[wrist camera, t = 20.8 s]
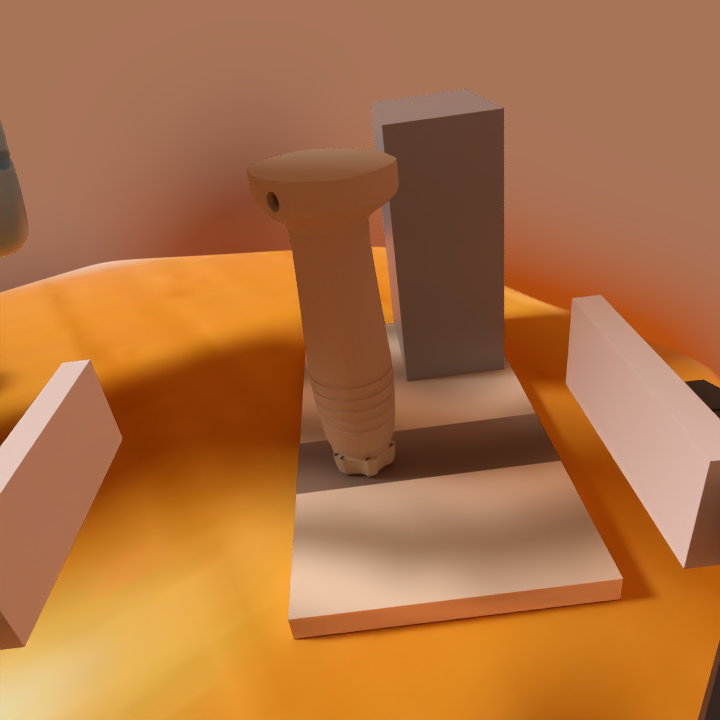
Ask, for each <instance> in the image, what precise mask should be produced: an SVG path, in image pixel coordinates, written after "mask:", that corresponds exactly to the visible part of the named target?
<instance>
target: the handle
mask: <svg viewBox="0 0 720 720" xmlns="http://www.w3.org/2000/svg"><path fill="white" fill-rule="evenodd" d="M246 170H247V175H248V179H249V184H250V188H251V191H252V195H253V197H254V199H255V201H256V203H257V205H258V206H259V207H260V208H261V209H262V211H263V212H264V213H265V214H267V215H268V216H269V217H271V218H272V219H275V220H277V221H279V222H281V223H284V224H285V225H286V226H287V228H288V233H289V237H290V242H291V247H292V252H293V259H294V266H295V273H296V281H297V288H298V295H299V302H300V310H301V318H302V326H303V333H304V341H305V349H306V357H307V365H308V370H309V376H310V381H311V386H312V390H313V394H314V399H315V402H316V406H317V410H318V413H319V417H320V420H321V423H322V426H323V429H324V432H325V435H326V437H327V440H328V442H329V443H330V444H331V446H332V449H333V451H334V454H333V456H334V459H335V462H336V465H337V467H338V469H339V470H340V471H341V472H342V473H345V474H347V475H350V474H362V475H366V476H368V477H371V476H374V475H377V474H378V472H379V470H381V469H382V468H383V467H385V466H387V465H390V464H391V463H392V462H393V460H394V457H395V441H393V440H392V439H391V437H392V436H393V433H394V424H395V389H394V377H393V368H392V361H391V353H390V348H389V343H388V337H387V332H386V327H385V321H384V316H383V311H382V305H381V300H380V295H379V289H378V283H377V277H376V272H375V266H374V260H373V254H372V248H371V243H370V233H369V221H368V218H369V216H370V215H371V214H372V213H373V212H374V211H375V210H377V209H378V208H380V207H382V206H383V205H385V204H386V203H387V202H388V201H389V200H390V199H391V198H392V197H393V196H394V194H395V193H396V192H397V190H398V186H399V181H398V168H397V158H395V157H393V156H391V155H389V154H387V153H385V152H381V151H376V150H367V149H354V148H332V149H315V150H304V151H298V152H293V153H288V154H284V155H280V156H276V157H273V158H269V159H266V160H263V161H260V162H258V163H255V164H253V165H251V166H250V167H248V168H247V169H246Z"/></svg>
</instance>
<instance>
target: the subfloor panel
mask: <svg viewBox="0 0 720 720" xmlns="http://www.w3.org/2000/svg"><path fill="white" fill-rule="evenodd" d="M385 327H386V332H387V337H388V343H389V348H390V353H391V361H392V368H393V377H394V389H395V424H394V433H393V436H392V437H391V439H392V440H393V441H395V457H394V460H393V462H392V463H391V464H390V465H387V466H385V467H383V468H382V469H381V470H379V472H378V474H377V475H374V476H371V477H368V476H366V475H362V474H350V475H347V474H345V473H342V472H341V471H340V470H339V469H338V467H337V465H336V462H335V459H334V456H333V454H334V451H333V449H332V446H331V444H330V443H329V442H328V440H327V437H326V435H325V432H324V429H323V426H322V423H321V420H320V417H319V413H318V410H317V406H316V402H315V399H314V394H313V390H312V386H311V381H310V376H309V370H308V365H307V357H306V355H305V371H304V386H303V401H302V417H301V432H300V447H299V463H298V478H297V493H296V509H295V524H294V539H293V555H292V570H291V585H290V601H289V616H288V621H289V624H290V627H291V631H292V634H293V638H294V639H297V638H305V637H313V636H321V635H330V634H338V633H346V632H354V631H362V630H371V629H379V628H387V627H395V626H404V625H412V624H420V623H428V622H436V621H445V620H453V619H461V618H469V617H477V616H486V615H494V614H502V613H510V612H518V611H527V610H535V609H543V608H551V607H559V606H568V605H576V604H584V603H592V602H600V601H609V600H617V599H620V597H621V590H622V583H623V577H622V575H621V574H620V572H619V570H618V568H617V566H616V564H615V562H614V560H613V558H612V557H611V555H610V553H609V551H608V549H607V547H606V545H605V543H604V541H603V539H602V538H601V536H600V534H599V532H598V530H597V528H596V526H595V524H594V522H593V521H592V519H591V517H590V515H589V513H588V511H587V509H586V507H585V505H584V503H583V502H582V500H581V498H580V496H579V494H578V492H577V490H576V488H575V486H574V485H573V483H572V481H571V479H570V477H569V475H568V473H567V471H566V469H565V467H564V466H563V464H562V462H561V460H560V458H559V456H558V454H557V452H556V450H555V449H554V447H553V445H552V443H551V441H550V439H549V437H548V435H547V433H546V431H545V430H544V428H543V426H542V424H541V422H540V420H539V418H538V416H537V414H536V413H535V411H534V409H533V407H532V405H531V403H530V401H529V399H528V397H527V395H526V394H525V392H524V390H523V388H522V386H521V384H520V382H519V380H518V378H517V377H516V375H515V373H514V371H513V369H512V367H511V365H510V363H509V361H508V359H507V358H506V356H505V354H504V369H502V370H494V371H486V372H478V373H471V374H463V375H455V376H447V377H439V378H432V379H424V380H416V381H408V382H407V378H406V374H405V369H404V364H403V360H402V355H401V350H400V346H399V341H398V336H397V332H396V327H395V323H388V324H385Z"/></svg>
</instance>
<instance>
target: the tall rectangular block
mask: <svg viewBox="0 0 720 720" xmlns="http://www.w3.org/2000/svg"><path fill="white" fill-rule="evenodd" d="M371 110H372V117H373V118H372V119H373V129H374V138H375V148H376V151H381V152H385V153H387V154H389V155H391V156H393V157H395V158H397V168H398V181H399V186H398V190H397V192H396V193H395V194H394V196H393V197H392V198H391V199H390V200H389V201H388V202H387V203H386V204H385V205H383V206H382V213H383V223H384V232H385V242H386V251H387V261H388V270H389V280H390V289H391V298H392V308H393V317H394V322H395V327H396V332H397V336H398V341H399V346H400V350H401V355H402V360H403V364H404V369H405V374H406V378H407V382H408V381H416V380H424V379H432V378H439V377H447V376H455V375H463V374H471V373H478V372H486V371H494V370H502V369H504V108H502V107H501V106H499V105H497V104H495V103H493V102H491V101H489V100H487V99H485V98H483V97H481V96H479V95H477V94H475V93H473V92H471V91H469V90H468V89H464V90H457V91H450V92H442V93H436V94H429V95H421V96H414V97H407V98H400V99H393V100H386V101H379V102H371Z"/></svg>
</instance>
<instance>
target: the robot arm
mask: <svg viewBox="0 0 720 720" xmlns="http://www.w3.org/2000/svg"><path fill="white" fill-rule="evenodd" d="M9 157H10V152H9V149H8V146H7V142H6V137H5V134H4V130H3V127H2V124H1V121H0V257H3V256H7V255H10V254H12V253H14V252H16V251H17V250H19V249H20V248H21V247H22V246H23V244H24V243H25V241H26V239H27V236H28V221H27V215H26V210H25V205H24V201H23V197H22V193H21V189H20V185H19V182H18V178H17V175H16V171H15V168H14V166H13V163H12V161H11V159H10V158H9ZM566 385H567V386H568V388H569V390H570V391H571V393H572V394H573V396H574V397H575V399H576V401H577V402H578V404H579V405H580V407H581V408H582V410H583V412H584V413H585V415H586V416H587V418H588V419H589V421H590V423H591V424H592V426H593V427H594V429H595V430H596V432H597V434H598V435H599V437H600V438H601V440H602V441H603V443H604V444H605V446H606V448H607V449H608V451H609V452H610V454H611V455H612V457H613V459H614V460H615V462H616V463H617V465H618V466H619V468H620V470H621V471H622V473H623V474H624V476H625V477H626V479H627V481H628V482H629V484H630V485H631V487H632V488H633V490H634V492H635V493H636V495H637V496H638V498H639V499H640V501H641V503H642V504H643V506H644V507H645V509H646V510H647V512H648V513H649V515H650V517H651V518H652V520H653V521H654V523H655V524H656V526H657V528H658V529H659V531H660V532H661V534H662V535H663V537H664V539H665V540H666V542H667V543H668V545H669V546H670V548H671V550H672V551H673V553H674V554H675V556H676V557H677V559H678V561H679V562H680V564H681V565H682V567H683V568H684V569H686V568H694V567H703V566H711V565H720V388H719V387H717V386H715V385H713V384H711V383H709V382H707V381H705V380H696V381H688V382H684V381H683V380H682V379H681V378H680V377H679V376H678V375H677V374H676V373H675V372H674V371H673V370H672V369H671V368H670V367H669V365H668V364H667V363H666V362H665V361H664V360H663V359H662V358H661V357H660V356H659V355H658V354H657V353H656V352H655V351H654V350H653V349H652V348H651V347H650V346H649V345H648V344H647V343H646V341H645V340H644V339H643V338H642V337H641V336H640V335H639V334H638V333H637V332H636V331H635V330H634V329H633V328H632V327H631V326H630V325H629V324H628V323H627V322H626V321H625V320H624V318H622V316H621V315H620V314H619V313H618V312H617V311H616V310H615V309H614V308H613V307H612V306H611V305H610V304H609V303H608V302H607V301H606V300H605V299H604V298H603V297H602V296H601V295H595V296H587V297H579V298H572V307H571V321H570V334H569V347H568V360H567V374H566ZM122 439H123V438H122V436H121V433H120V431H119V428H118V426H117V423H116V421H115V419H114V416H113V414H112V411H111V409H110V406H109V404H108V402H107V399H106V397H105V394H104V392H103V389H102V387H101V385H100V382H99V380H98V377H97V375H96V372H95V370H94V368H93V365H92V363H91V360H82V361H74V362H66V363H62V364H61V366H60V367H59V368H58V370H57V371H56V372H55V374H54V375H53V376H52V378H51V379H50V380H49V382H48V383H47V384H46V386H45V387H44V389H43V390H42V391H41V393H40V394H39V395H38V397H37V398H36V399H35V401H34V402H33V403H32V405H31V406H30V407H29V409H28V410H27V411H26V413H25V414H24V415H23V417H22V418H21V419H20V421H19V422H18V424H17V425H16V426H15V428H14V429H13V430H12V432H11V433H10V434H9V436H8V437H7V438H6V440H5V441H4V442H3V444H2V445H1V446H0V650H2V649H11V648H19V647H25V645H26V643H27V641H28V639H29V636H30V634H31V632H32V630H33V628H34V626H35V624H36V622H37V620H38V617H39V615H40V613H41V611H42V609H43V607H44V605H45V603H46V600H47V598H48V596H49V594H50V592H51V590H52V588H53V586H54V584H55V581H56V579H57V577H58V575H59V573H60V571H61V569H62V567H63V564H64V562H65V560H66V558H67V556H68V554H69V552H70V550H71V547H72V545H73V543H74V541H75V539H76V537H77V535H78V533H79V531H80V528H81V526H82V524H83V522H84V520H85V518H86V516H87V514H88V511H89V509H90V507H91V505H92V503H93V501H94V499H95V497H96V495H97V492H98V490H99V488H100V486H101V484H102V482H103V480H104V478H105V475H106V473H107V471H108V469H109V467H110V465H111V463H112V461H113V458H114V456H115V454H116V452H117V450H118V448H119V446H120V444H121V442H122ZM698 720H720V641H719V645H718V649H717V652H716V656H715V660H714V663H713V667H712V671H711V674H710V678H709V681H708V685H707V689H706V692H705V696H704V700H703V703H702V707H701V711H700V714H699V718H698Z"/></svg>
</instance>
